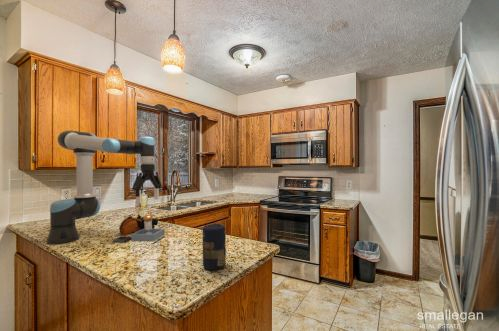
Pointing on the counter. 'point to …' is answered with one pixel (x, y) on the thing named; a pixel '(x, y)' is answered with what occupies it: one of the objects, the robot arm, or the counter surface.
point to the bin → (148, 235)
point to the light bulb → (148, 223)
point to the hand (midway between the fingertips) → (148, 200)
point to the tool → (134, 225)
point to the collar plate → (121, 240)
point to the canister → (214, 246)
